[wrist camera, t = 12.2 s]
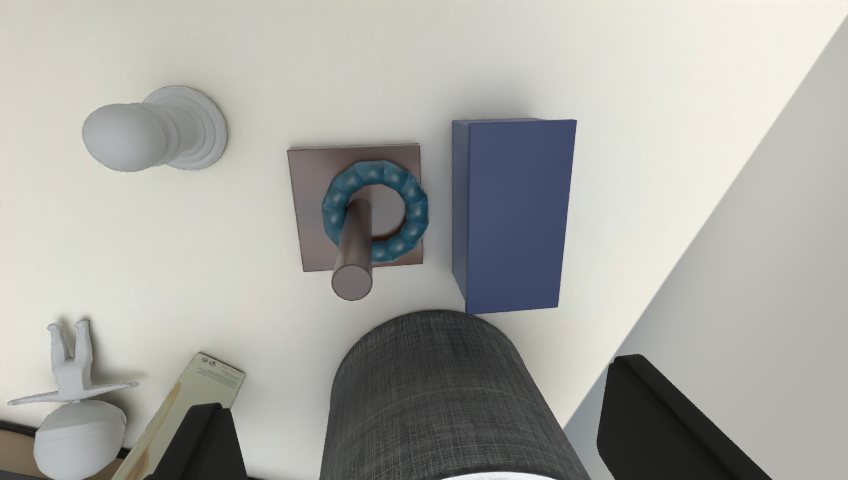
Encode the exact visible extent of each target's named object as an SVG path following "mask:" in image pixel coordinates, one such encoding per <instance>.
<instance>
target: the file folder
mask: <svg viewBox="0 0 848 480" xmlns="http://www.w3.org/2000/svg"><path fill="white" fill-rule="evenodd" d="M35 435H36V432H34V431H29V430H25V429H20V428H16V427H12V426H7V425H3V424H0V480H54V479H52V478H50V477H48V476H46V475H45V474H44V473H42V472H41V471H40V470H39V468H38V466H37V463H36V460H35V458H34V455H33V452H34V442H35ZM128 454H129V453H127V452H122V451H119V452H118V454H117V456H116V458H115V460H113V461H112V462H111V463H109V464H108V465H107V466H105V467H104V468H103V469H102V470H100V471H99V472H98V473H96V474H95V475H92V476H90V477H87V478H85V479H82V480H111V479H112V478H113V476H114V475H115V473H116V472H117V470H118V469H119V467H120V466H121V464H122V463H123V462H124V460H125V459H126V457H127V456H128Z"/></svg>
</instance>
